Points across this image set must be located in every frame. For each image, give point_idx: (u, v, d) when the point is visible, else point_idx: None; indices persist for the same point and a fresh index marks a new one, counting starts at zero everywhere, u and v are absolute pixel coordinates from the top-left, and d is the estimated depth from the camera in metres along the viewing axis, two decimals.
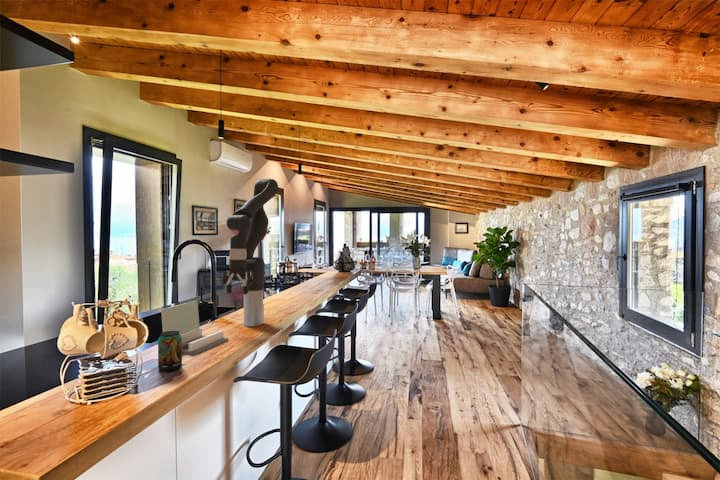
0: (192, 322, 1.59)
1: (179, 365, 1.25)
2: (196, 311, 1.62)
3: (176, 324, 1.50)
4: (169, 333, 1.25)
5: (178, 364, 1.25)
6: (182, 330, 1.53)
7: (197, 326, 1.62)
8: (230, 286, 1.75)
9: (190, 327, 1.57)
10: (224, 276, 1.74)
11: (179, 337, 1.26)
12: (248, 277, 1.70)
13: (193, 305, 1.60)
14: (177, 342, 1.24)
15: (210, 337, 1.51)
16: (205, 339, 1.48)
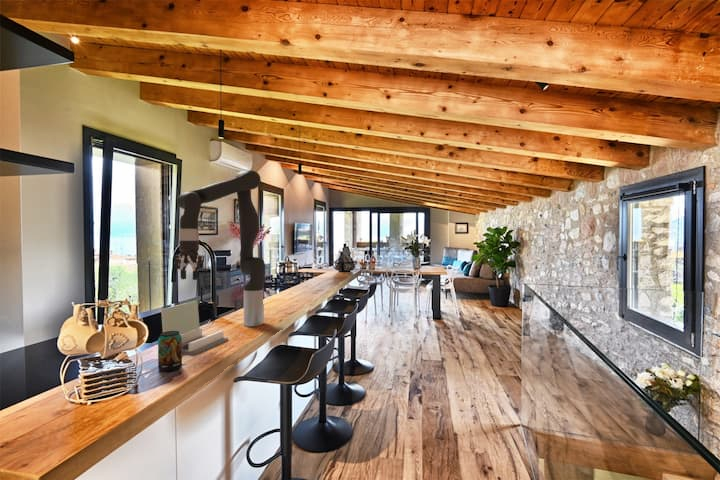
0: (192, 322, 1.59)
1: (179, 365, 1.25)
2: (196, 311, 1.62)
3: (176, 324, 1.50)
4: (169, 333, 1.25)
5: (178, 364, 1.25)
6: (182, 330, 1.53)
7: (197, 326, 1.62)
8: (184, 271, 1.61)
9: (190, 327, 1.57)
10: (176, 260, 1.61)
11: (179, 337, 1.26)
12: (198, 261, 1.58)
13: (193, 305, 1.60)
14: (177, 342, 1.24)
15: (210, 337, 1.51)
16: (205, 339, 1.48)
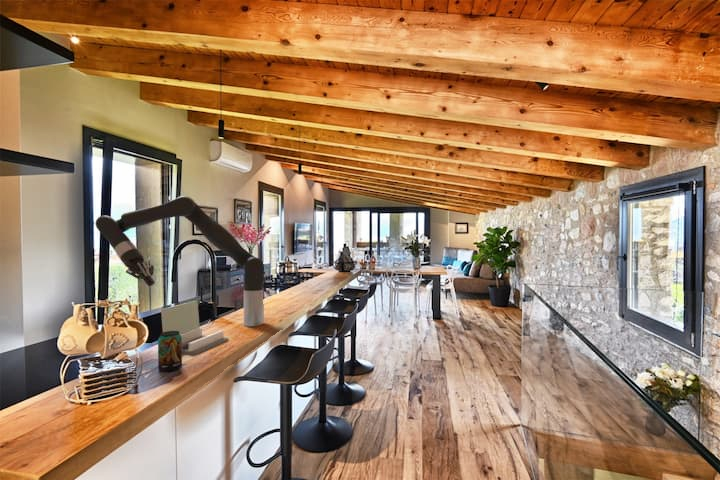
0: (192, 322, 1.59)
1: (179, 365, 1.25)
2: (196, 311, 1.62)
3: (176, 324, 1.50)
4: (169, 333, 1.25)
5: (178, 364, 1.25)
6: (182, 330, 1.53)
7: (197, 326, 1.62)
8: None
9: (190, 327, 1.57)
10: None
11: (179, 337, 1.26)
12: None
13: (193, 305, 1.60)
14: (177, 342, 1.24)
15: (210, 337, 1.51)
16: (205, 339, 1.48)
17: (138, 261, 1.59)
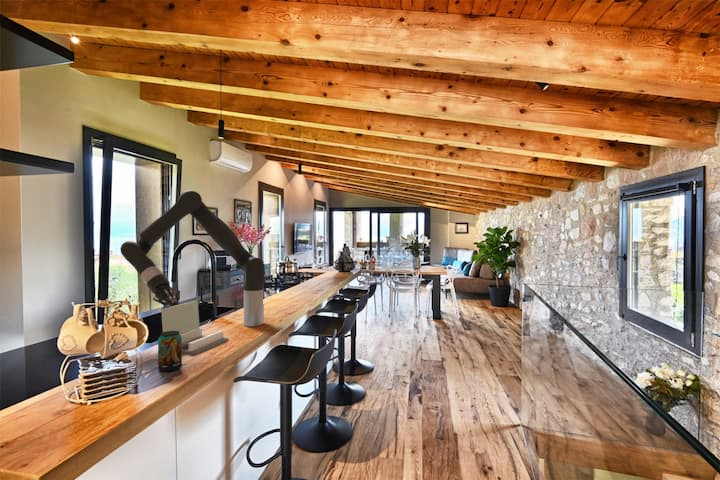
0: (192, 322, 1.59)
1: (179, 365, 1.25)
2: (196, 311, 1.62)
3: (176, 324, 1.50)
4: (169, 333, 1.25)
5: (178, 364, 1.25)
6: (182, 330, 1.53)
7: (197, 326, 1.62)
8: None
9: (190, 327, 1.57)
10: None
11: (179, 337, 1.26)
12: None
13: (193, 305, 1.60)
14: (177, 342, 1.24)
15: (210, 337, 1.51)
16: (205, 339, 1.48)
17: (164, 287, 1.56)
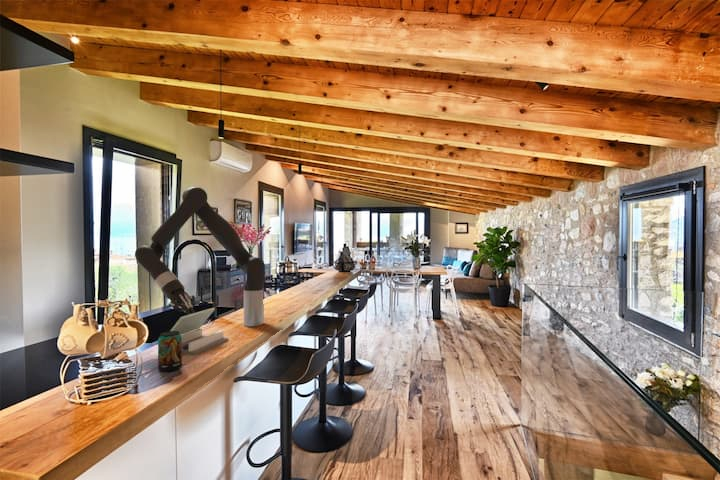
0: (197, 324, 1.58)
1: (179, 365, 1.25)
2: (207, 316, 1.60)
3: (183, 328, 1.49)
4: (169, 333, 1.25)
5: (178, 364, 1.25)
6: (184, 331, 1.53)
7: (199, 327, 1.61)
8: None
9: (192, 328, 1.57)
10: None
11: (179, 337, 1.26)
12: None
13: (208, 312, 1.58)
14: (177, 342, 1.24)
15: (210, 337, 1.51)
16: (205, 339, 1.48)
17: (179, 292, 1.54)
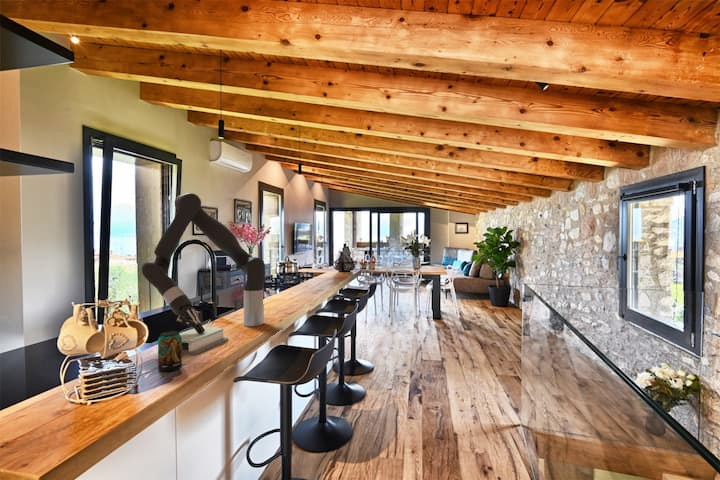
0: None
1: (179, 365, 1.25)
2: None
3: None
4: (169, 333, 1.25)
5: (178, 364, 1.25)
6: None
7: None
8: None
9: None
10: None
11: (179, 337, 1.26)
12: None
13: None
14: (177, 342, 1.24)
15: (210, 337, 1.51)
16: (205, 339, 1.48)
17: (187, 308, 1.53)
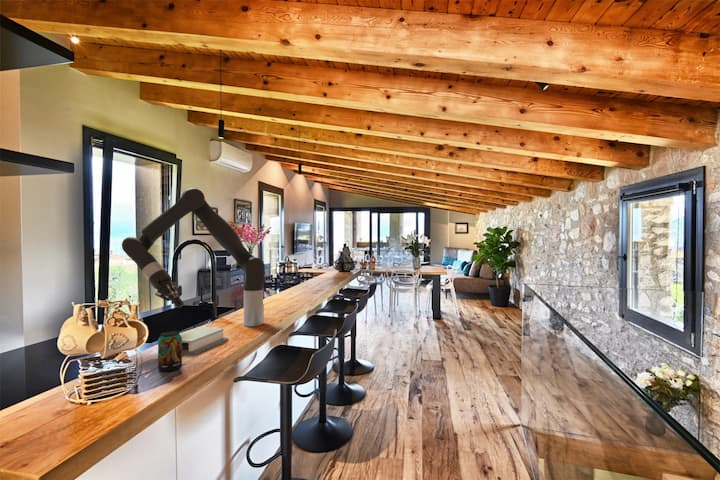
0: None
1: (179, 365, 1.25)
2: None
3: None
4: (169, 333, 1.25)
5: (178, 364, 1.25)
6: None
7: None
8: None
9: None
10: None
11: (179, 337, 1.26)
12: None
13: None
14: (177, 342, 1.24)
15: (210, 337, 1.51)
16: (205, 339, 1.48)
17: (166, 282, 1.56)
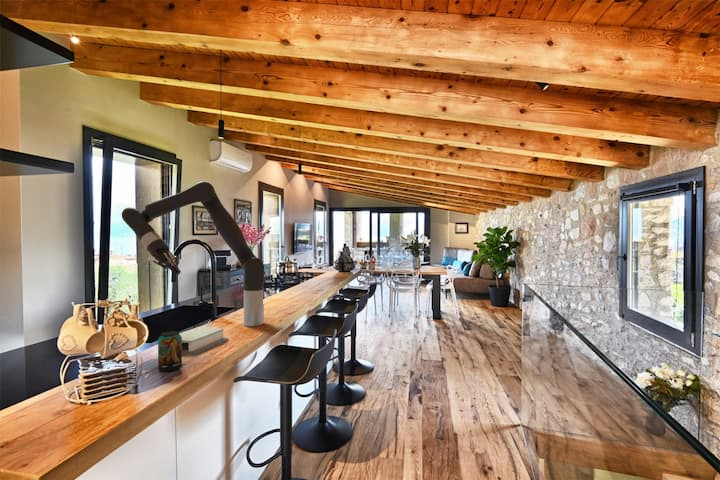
0: None
1: (179, 365, 1.25)
2: None
3: None
4: (169, 333, 1.25)
5: (178, 364, 1.25)
6: None
7: None
8: None
9: None
10: None
11: (179, 337, 1.26)
12: None
13: None
14: (177, 342, 1.24)
15: (210, 337, 1.51)
16: (205, 339, 1.48)
17: (164, 251, 1.62)
